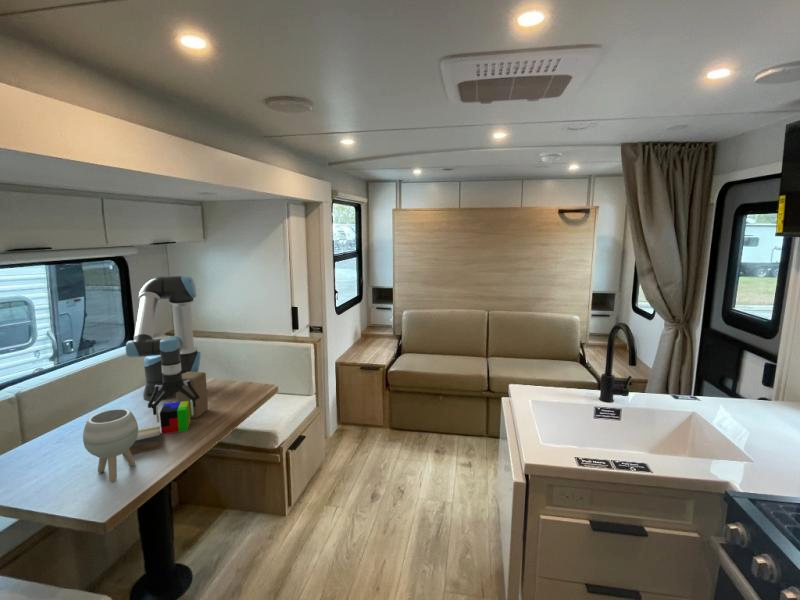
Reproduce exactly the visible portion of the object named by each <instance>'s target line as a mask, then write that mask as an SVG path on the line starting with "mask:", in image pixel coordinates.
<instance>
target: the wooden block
mask: <svg viewBox="0 0 800 600" xmlns="http://www.w3.org/2000/svg"><path fill="white" fill-rule="evenodd" d="M187 380H190V383H191V385H192V387H193V388H194V389H195V391H196V392H197V393H198V395H199V397H200V398H199V399H196V400H195V404H196V406H195V407H193V414H194V415H192V414H191V404H190V400H191V399H190V398H188V397H187V396H186V395H184V394H183V393H181V392H180V391H179V392H177V393H175V394H176V402H183V401H189V411H190V419H198V418H199V417H200V416H202V415H203V414H204V413H205V412H207V411H208V409H209V405H208V403H209V402H208V388H207V373H206V372H201V371H198V372H186V373H184V374H182V381H183V382H184V381H187ZM182 388H183V389H184V390H186V391H187V392H188V393H190V394H191V395H192V396H194V397H195V395H194V394H193V393H192V391H191V390H190V388H189V387H188V386H186V385H185V384H184V385H183V386H182Z"/></svg>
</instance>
